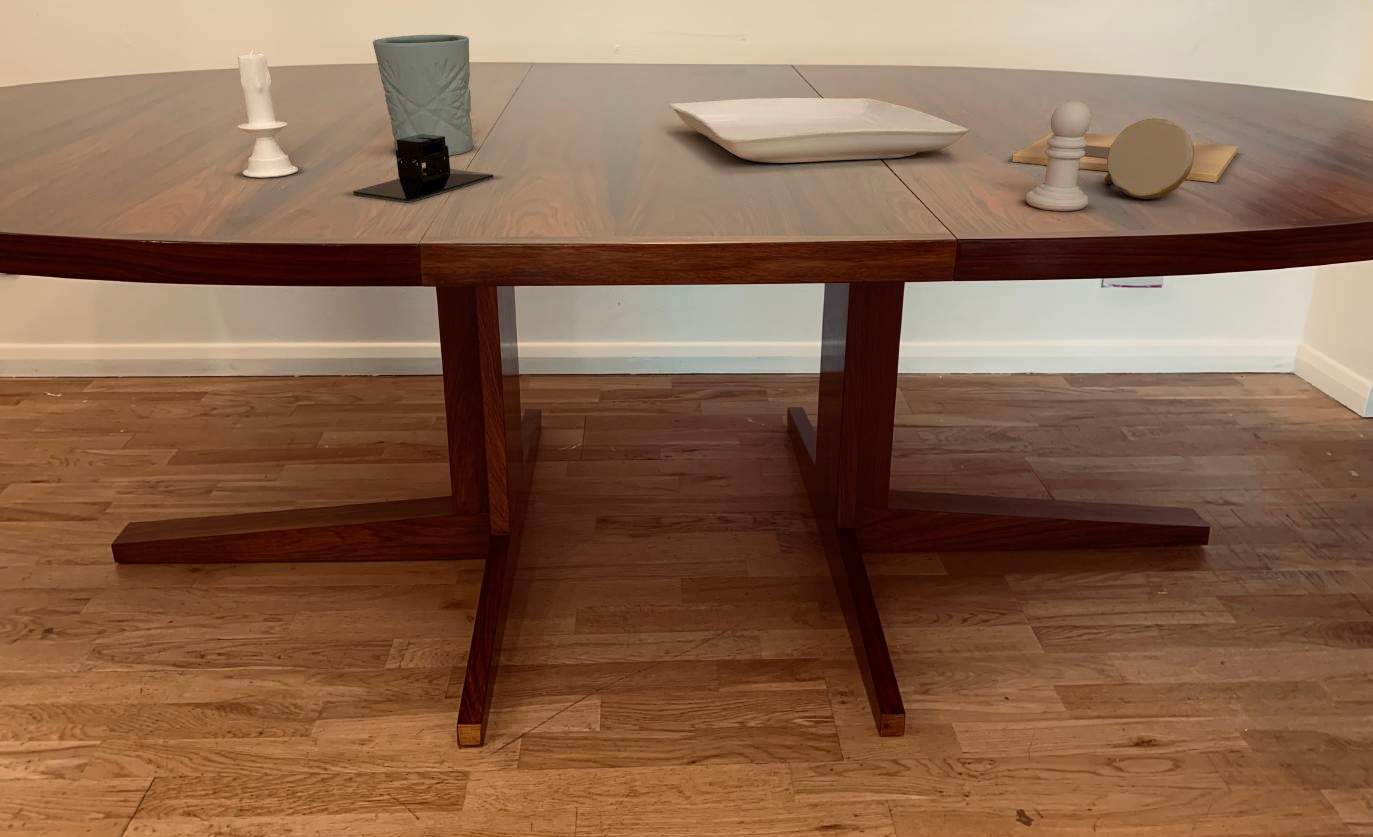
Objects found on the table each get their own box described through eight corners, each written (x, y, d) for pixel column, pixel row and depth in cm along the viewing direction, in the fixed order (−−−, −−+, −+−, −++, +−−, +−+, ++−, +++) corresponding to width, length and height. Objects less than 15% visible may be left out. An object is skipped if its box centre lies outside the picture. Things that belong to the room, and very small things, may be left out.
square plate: (970, 162, 109) (974, 125, 107) (725, 174, 103) (725, 135, 101) (869, 123, 133) (872, 92, 131) (666, 131, 127) (666, 98, 125)
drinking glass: (496, 149, 116) (487, 37, 111) (423, 162, 109) (410, 43, 104) (441, 139, 122) (430, 32, 117) (368, 151, 115) (353, 38, 110)
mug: (1196, 187, 98) (1231, 102, 90) (1151, 248, 94) (1183, 165, 86) (1123, 159, 101) (1150, 75, 93) (1076, 217, 98) (1100, 134, 89)
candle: (300, 166, 107) (281, 45, 102) (295, 176, 102) (275, 50, 97) (246, 168, 106) (224, 47, 101) (239, 179, 101) (215, 52, 96)
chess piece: (1096, 204, 91) (1114, 100, 87) (1072, 215, 87) (1090, 107, 84) (1040, 195, 94) (1055, 95, 90) (1014, 205, 91) (1029, 101, 87)
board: (1236, 153, 113) (1238, 145, 113) (1216, 182, 99) (1218, 173, 99) (1053, 137, 123) (1055, 129, 122) (1012, 161, 109) (1013, 153, 109)
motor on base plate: (409, 204, 92) (402, 152, 90) (350, 195, 95) (342, 145, 93) (494, 177, 102) (490, 130, 100) (438, 170, 105) (433, 124, 103)
